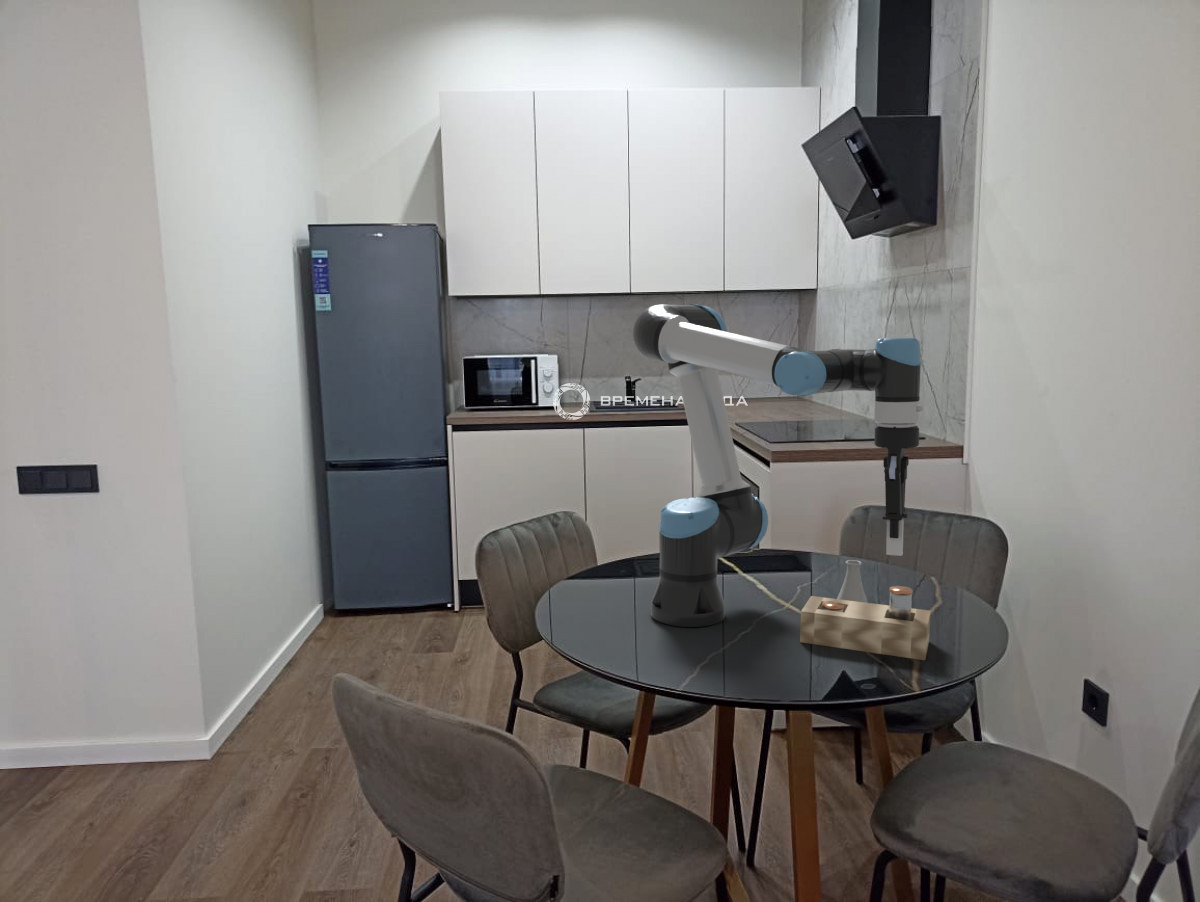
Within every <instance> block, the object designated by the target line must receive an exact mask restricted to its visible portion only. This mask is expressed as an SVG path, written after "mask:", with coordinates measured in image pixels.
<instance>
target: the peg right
mask: <svg viewBox="0 0 1200 902" xmlns="http://www.w3.org/2000/svg"><path fill="white" fill-rule="evenodd" d="M913 592H914V589H913V588H910V587H909V586H905V585H904V586H903V585H894V586H890V587H889V601H888V603H889V604H888V605H889V618H890V619H898V620H906V621H911V608H912V599H913V598H912V597H913Z"/></svg>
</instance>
